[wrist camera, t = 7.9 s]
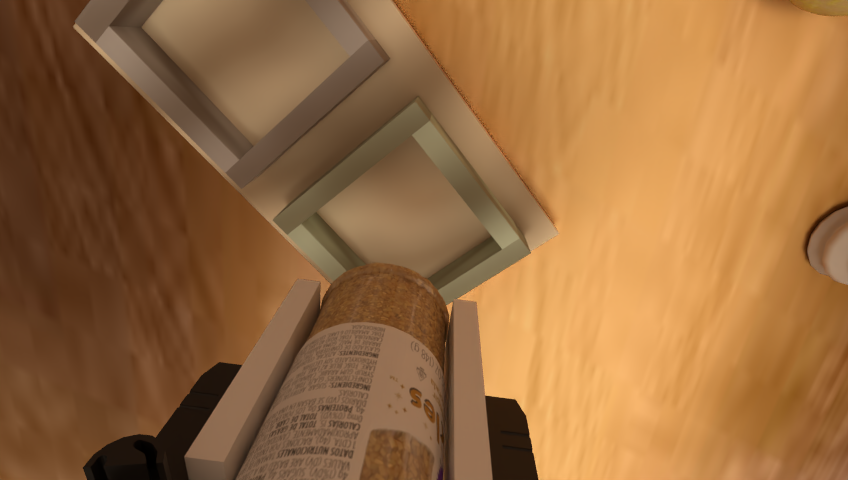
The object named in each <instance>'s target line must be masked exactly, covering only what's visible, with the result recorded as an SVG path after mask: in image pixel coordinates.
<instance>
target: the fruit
mask: <svg viewBox="0 0 848 480" xmlns="http://www.w3.org/2000/svg"><path fill="white" fill-rule="evenodd" d="M789 1H790V2H791V3H793V4H794V5H795V6H797V7H798V8H800V9H802V10H805V11H807V12H811V13H814V14H818V15H824V16H848V0H789Z"/></svg>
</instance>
